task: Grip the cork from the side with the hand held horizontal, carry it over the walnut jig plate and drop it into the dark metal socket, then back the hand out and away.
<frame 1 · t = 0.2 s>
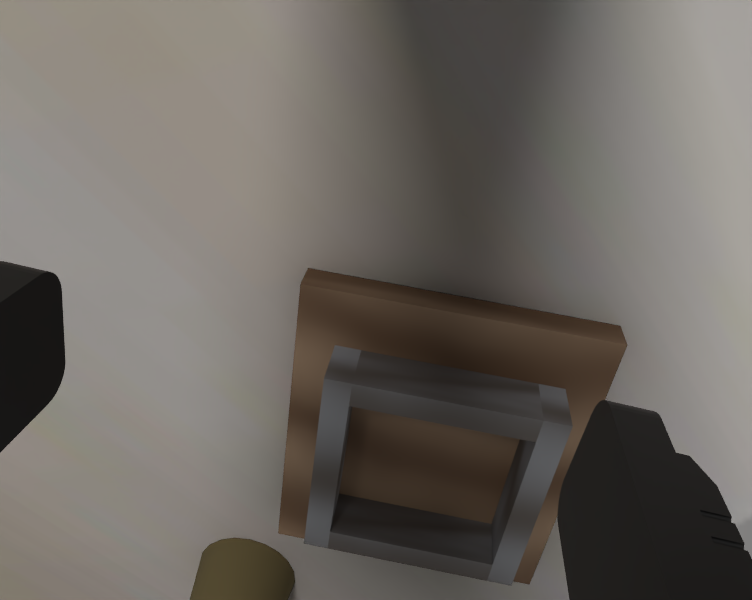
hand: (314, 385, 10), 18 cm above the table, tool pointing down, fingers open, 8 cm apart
jig: (430, 431, 33), on the table
cork: (248, 568, 41), on the table
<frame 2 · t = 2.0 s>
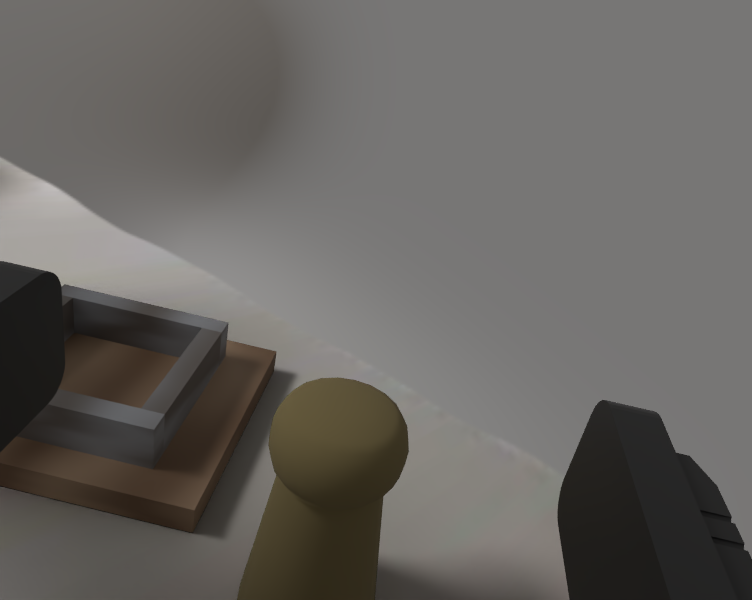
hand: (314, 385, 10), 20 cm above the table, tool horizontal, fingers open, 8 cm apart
jig: (104, 405, 37), on the table
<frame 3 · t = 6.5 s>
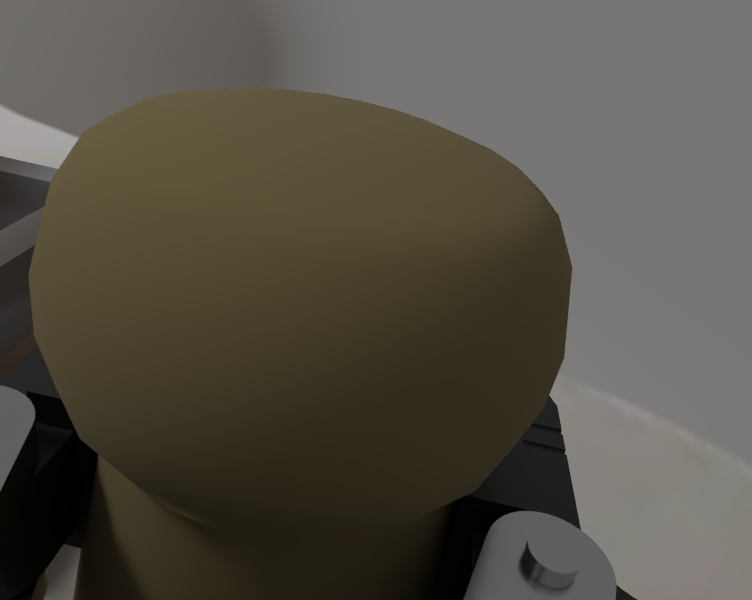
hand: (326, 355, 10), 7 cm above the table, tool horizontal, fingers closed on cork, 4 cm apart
when the fingers open (9 cm above the table, at t = 11.6 s): cork moves 1 cm, resting on jig.
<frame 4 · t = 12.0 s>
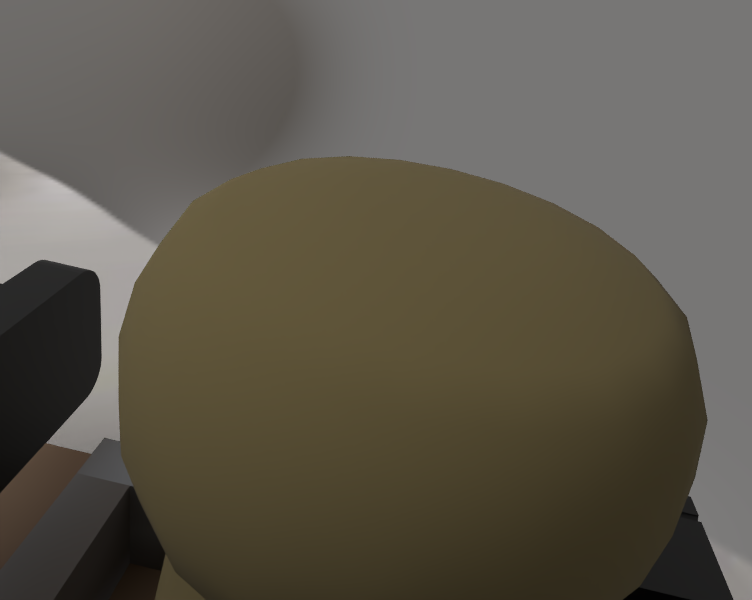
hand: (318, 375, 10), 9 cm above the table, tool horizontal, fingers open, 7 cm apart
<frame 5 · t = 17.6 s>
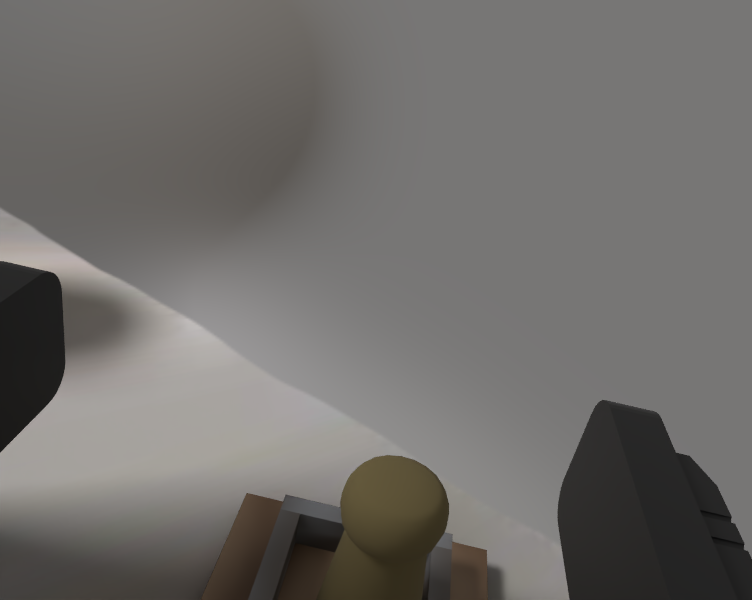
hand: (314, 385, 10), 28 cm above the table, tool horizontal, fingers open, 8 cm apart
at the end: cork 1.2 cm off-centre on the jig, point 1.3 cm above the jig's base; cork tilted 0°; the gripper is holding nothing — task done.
